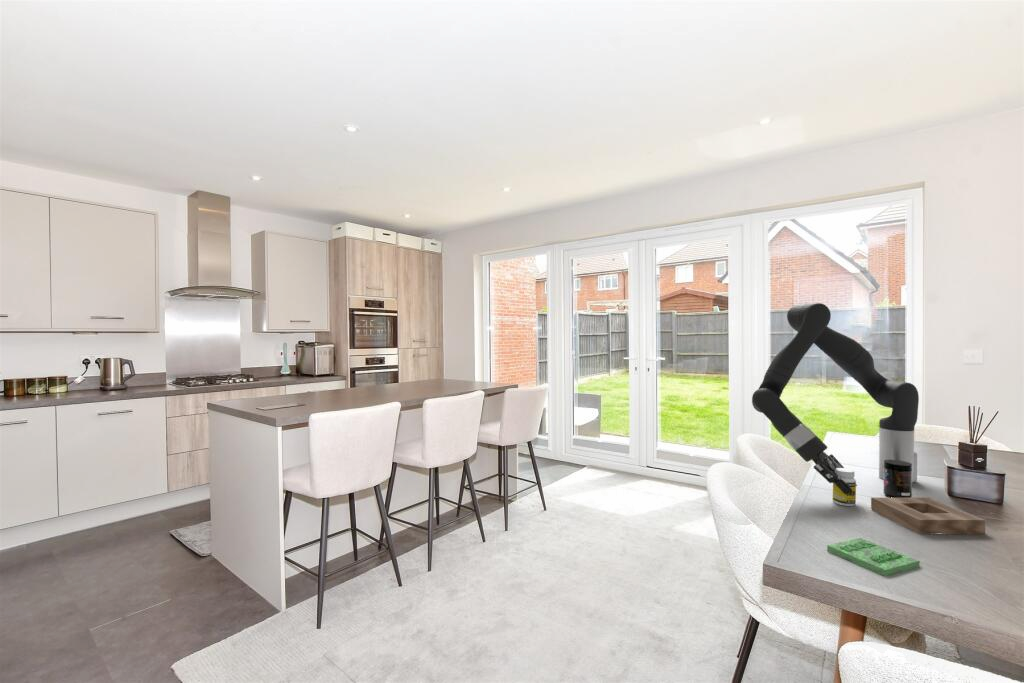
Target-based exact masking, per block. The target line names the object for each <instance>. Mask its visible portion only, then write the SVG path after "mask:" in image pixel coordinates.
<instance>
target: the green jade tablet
mask: <svg viewBox="0 0 1024 683" xmlns="http://www.w3.org/2000/svg"><path fill="white" fill-rule="evenodd" d="M826 551H827V552H829V553H830V554H833V555H835V556H838V557H840V558H842V559H844V560H846V561H848V562H850V563H851V562H852V563H853V564H856V565H858V566H861V567H862V568H865V569H868V570H870V571H872V572H874V573H876V574H879V575H881V576H883V577H887V576H890V575H893V574H898V573H900V572H901V573H902V572H905V571H909V570H911V569H916V568H918V567H920V560H918V559H916V558H913V557H910V556H909V555H905V554H903V553H902V552H901V553H900V552H898V551H895V550H893V549H891V548H887V547H885V546H882V545H880V544H878V543H875V542H871V541H869V540H867V539H864V538H862V537H858V538H855V539H849V540H845V541H841V542H837V543H836V542H835V543H832V544H828V545H827V546H826Z"/></svg>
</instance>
